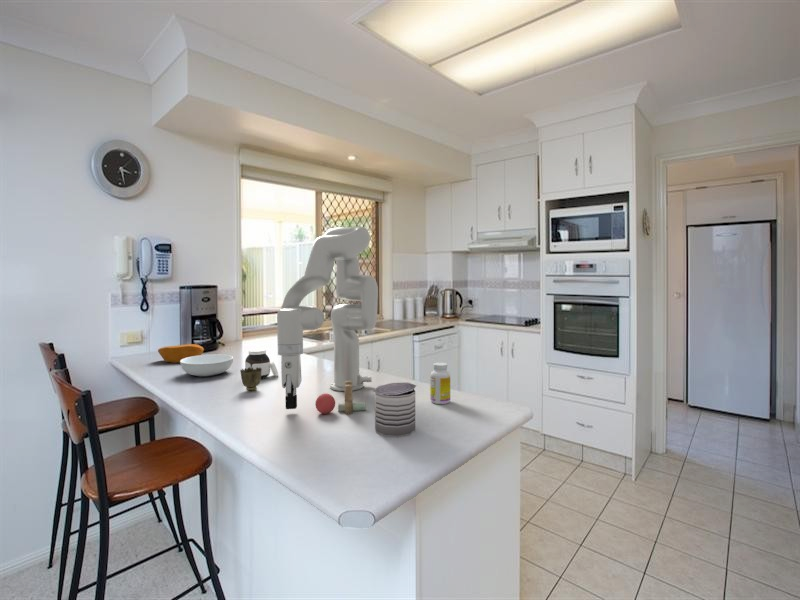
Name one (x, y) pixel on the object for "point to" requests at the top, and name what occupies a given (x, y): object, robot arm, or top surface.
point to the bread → (180, 352)
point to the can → (395, 409)
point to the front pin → (355, 406)
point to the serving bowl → (206, 364)
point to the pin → (348, 399)
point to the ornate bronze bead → (251, 378)
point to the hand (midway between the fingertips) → (291, 408)
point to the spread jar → (260, 362)
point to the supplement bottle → (440, 384)
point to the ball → (325, 403)
